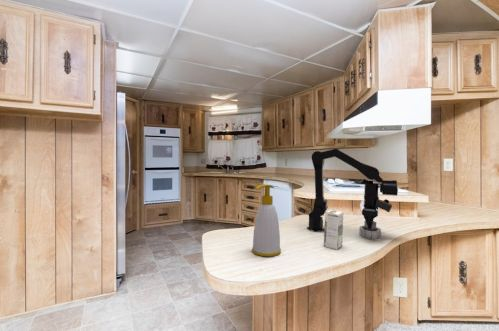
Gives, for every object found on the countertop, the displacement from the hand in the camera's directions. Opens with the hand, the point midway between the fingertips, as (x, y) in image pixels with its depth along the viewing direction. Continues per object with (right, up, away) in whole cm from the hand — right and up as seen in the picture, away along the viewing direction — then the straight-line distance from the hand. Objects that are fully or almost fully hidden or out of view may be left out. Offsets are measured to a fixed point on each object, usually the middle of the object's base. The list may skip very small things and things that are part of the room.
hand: (370, 227), depth 113 cm
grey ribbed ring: (0, -4, 0) cm, 4 cm away
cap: (0, -2, 0) cm, 2 cm away
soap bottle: (-50, -5, -19) cm, 53 cm away
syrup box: (-22, -5, -13) cm, 25 cm away
